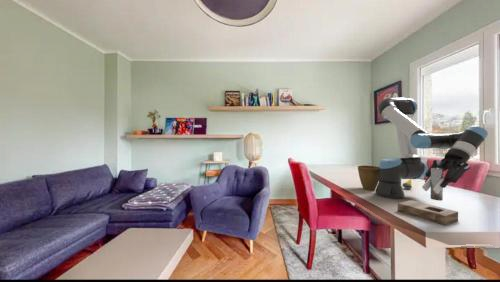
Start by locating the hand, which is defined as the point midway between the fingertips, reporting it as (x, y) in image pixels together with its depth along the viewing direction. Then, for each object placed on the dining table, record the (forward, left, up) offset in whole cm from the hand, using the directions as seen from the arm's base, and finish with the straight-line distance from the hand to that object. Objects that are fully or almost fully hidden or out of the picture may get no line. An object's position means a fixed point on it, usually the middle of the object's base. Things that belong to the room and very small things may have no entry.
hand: (429, 190), depth 89 cm
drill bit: (-35, +53, -13) cm, 65 cm away
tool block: (-3, +4, -13) cm, 14 cm away
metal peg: (+1, +4, -4) cm, 6 cm away
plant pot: (-45, +26, -13) cm, 54 cm away
